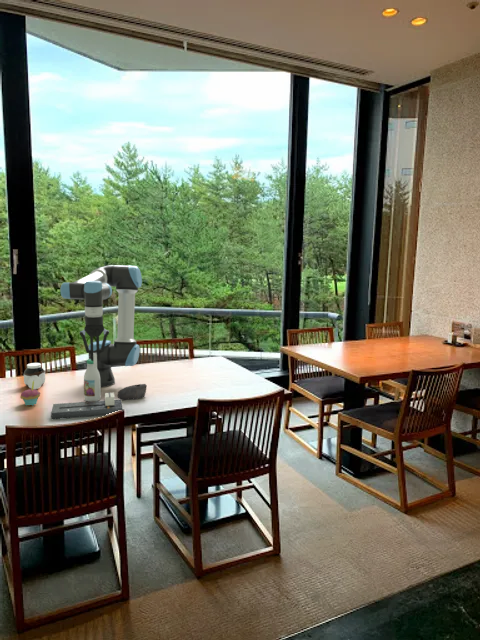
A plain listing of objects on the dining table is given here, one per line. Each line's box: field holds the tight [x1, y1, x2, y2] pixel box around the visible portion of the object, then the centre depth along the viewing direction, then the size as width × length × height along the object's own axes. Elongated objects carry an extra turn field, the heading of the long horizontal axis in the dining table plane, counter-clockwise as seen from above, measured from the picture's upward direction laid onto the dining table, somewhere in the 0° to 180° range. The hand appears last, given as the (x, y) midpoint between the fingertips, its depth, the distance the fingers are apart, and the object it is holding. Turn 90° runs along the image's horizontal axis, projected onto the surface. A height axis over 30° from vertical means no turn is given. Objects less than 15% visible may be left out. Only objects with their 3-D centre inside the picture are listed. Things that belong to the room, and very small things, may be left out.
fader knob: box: [104, 391, 115, 406], centre depth 219 cm, size 6×4×4 cm, turn 17°
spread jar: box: [23, 362, 46, 390], centre depth 252 cm, size 12×11×12 cm
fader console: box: [50, 398, 123, 420], centre depth 217 cm, size 12×30×3 cm, turn 107°
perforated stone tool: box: [117, 383, 147, 401], centre depth 237 cm, size 15×5×7 cm, turn 115°
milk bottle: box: [83, 358, 102, 402], centre depth 233 cm, size 8×8×20 cm
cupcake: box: [20, 381, 41, 406], centre depth 225 cm, size 9×8×12 cm
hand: (95, 367), depth 216 cm, fingers closed
